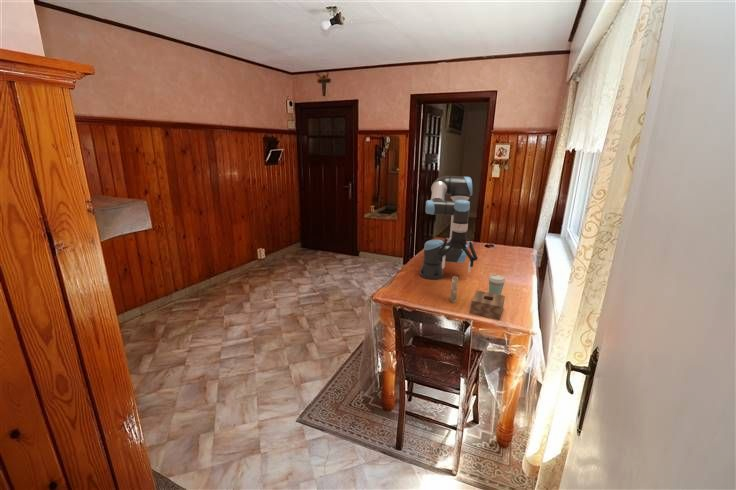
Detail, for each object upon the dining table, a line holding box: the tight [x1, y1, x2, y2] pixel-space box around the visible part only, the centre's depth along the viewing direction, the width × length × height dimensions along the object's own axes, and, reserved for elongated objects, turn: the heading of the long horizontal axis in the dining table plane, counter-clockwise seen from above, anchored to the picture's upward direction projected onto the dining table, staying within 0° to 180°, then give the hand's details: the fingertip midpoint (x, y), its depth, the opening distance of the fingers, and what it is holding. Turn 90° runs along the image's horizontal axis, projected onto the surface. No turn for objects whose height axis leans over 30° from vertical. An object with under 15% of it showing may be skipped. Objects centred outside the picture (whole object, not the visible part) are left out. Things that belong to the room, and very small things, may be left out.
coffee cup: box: [488, 274, 506, 295], centre depth 185 cm, size 8×9×12 cm
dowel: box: [449, 275, 459, 303], centre depth 179 cm, size 3×3×14 cm
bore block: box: [469, 290, 506, 321], centre depth 170 cm, size 14×14×7 cm
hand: (455, 270), depth 175 cm, fingers open, 13 cm apart
